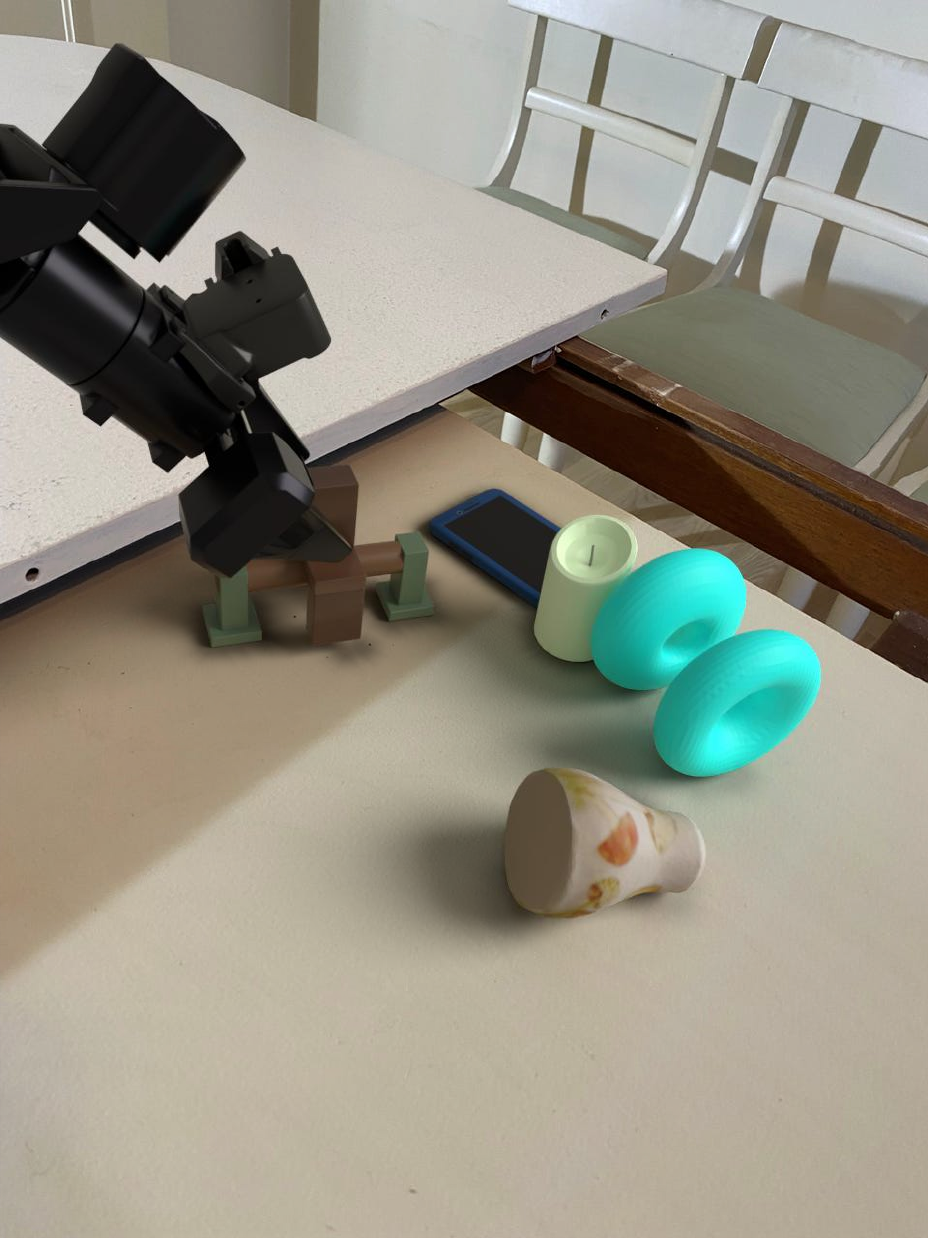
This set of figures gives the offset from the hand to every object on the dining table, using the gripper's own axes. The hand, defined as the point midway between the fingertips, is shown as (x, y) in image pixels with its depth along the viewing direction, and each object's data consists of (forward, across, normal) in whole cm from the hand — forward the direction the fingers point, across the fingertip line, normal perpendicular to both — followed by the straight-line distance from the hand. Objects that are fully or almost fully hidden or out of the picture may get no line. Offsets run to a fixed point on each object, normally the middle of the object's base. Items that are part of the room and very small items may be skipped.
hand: (323, 504), depth 59 cm
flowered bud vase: (+13, -22, 0) cm, 25 cm away
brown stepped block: (+6, 0, +5) cm, 8 cm away
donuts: (+19, -13, -7) cm, 25 cm away
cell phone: (+17, +3, -5) cm, 18 cm away
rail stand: (+6, 0, +6) cm, 9 cm away
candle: (+17, -5, -5) cm, 18 cm away
